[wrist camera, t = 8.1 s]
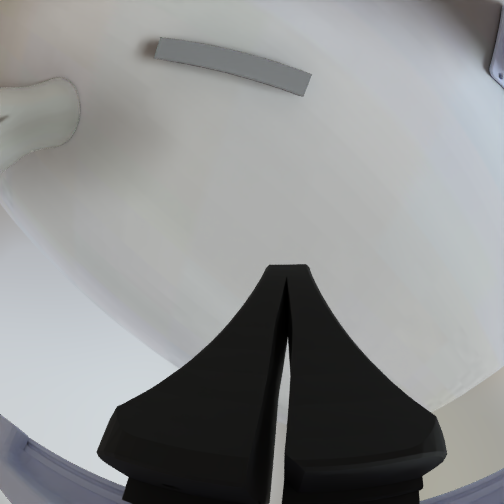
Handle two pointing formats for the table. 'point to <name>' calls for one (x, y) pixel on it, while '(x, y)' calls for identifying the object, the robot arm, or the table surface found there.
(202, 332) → the table surface
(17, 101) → the beer glass
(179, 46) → the bar
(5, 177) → the table surface
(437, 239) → the table surface
